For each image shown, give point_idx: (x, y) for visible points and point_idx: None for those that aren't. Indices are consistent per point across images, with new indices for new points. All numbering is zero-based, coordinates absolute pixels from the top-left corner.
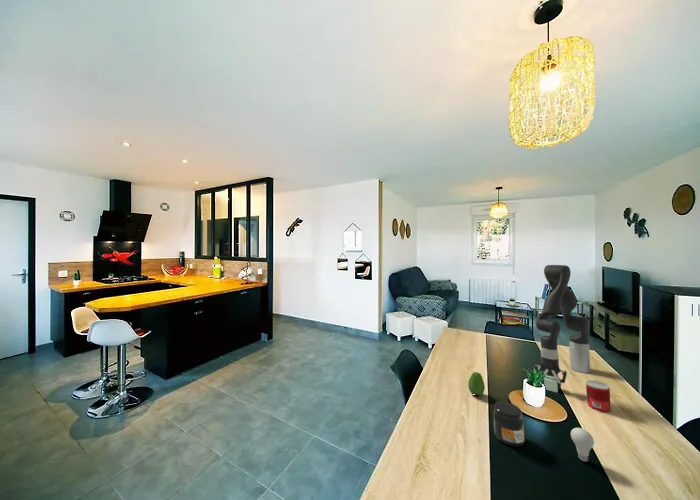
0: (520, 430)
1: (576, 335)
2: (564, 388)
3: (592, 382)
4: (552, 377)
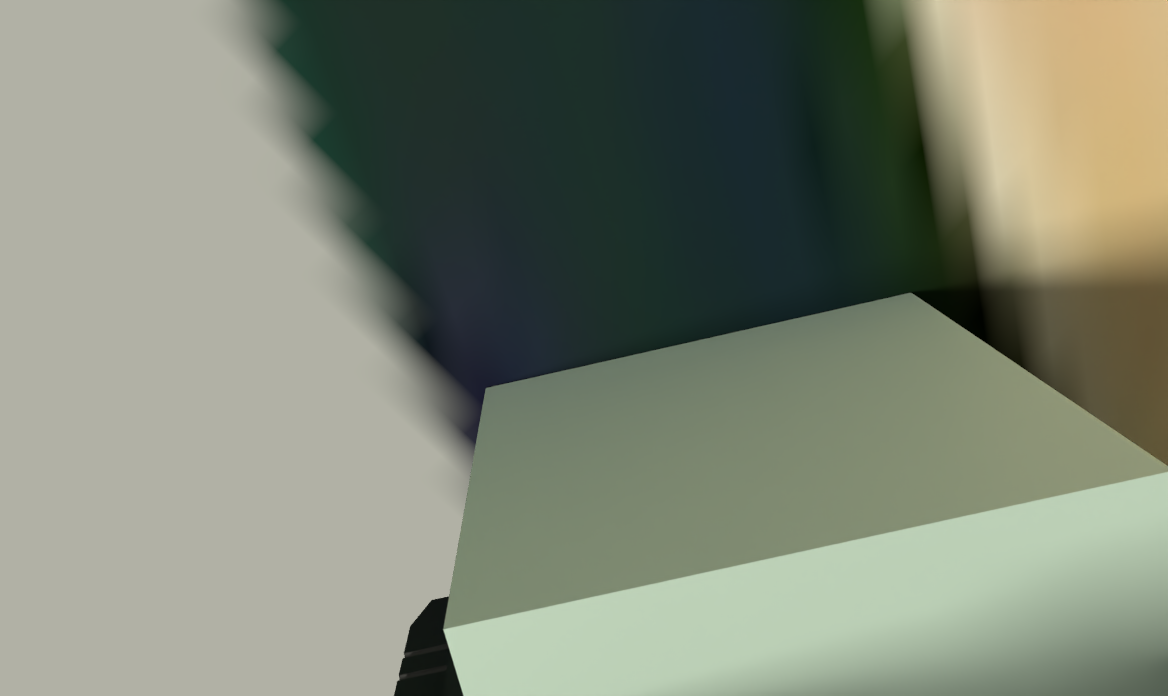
0: None
1: None
2: (1102, 100)
3: None
4: (901, 626)
